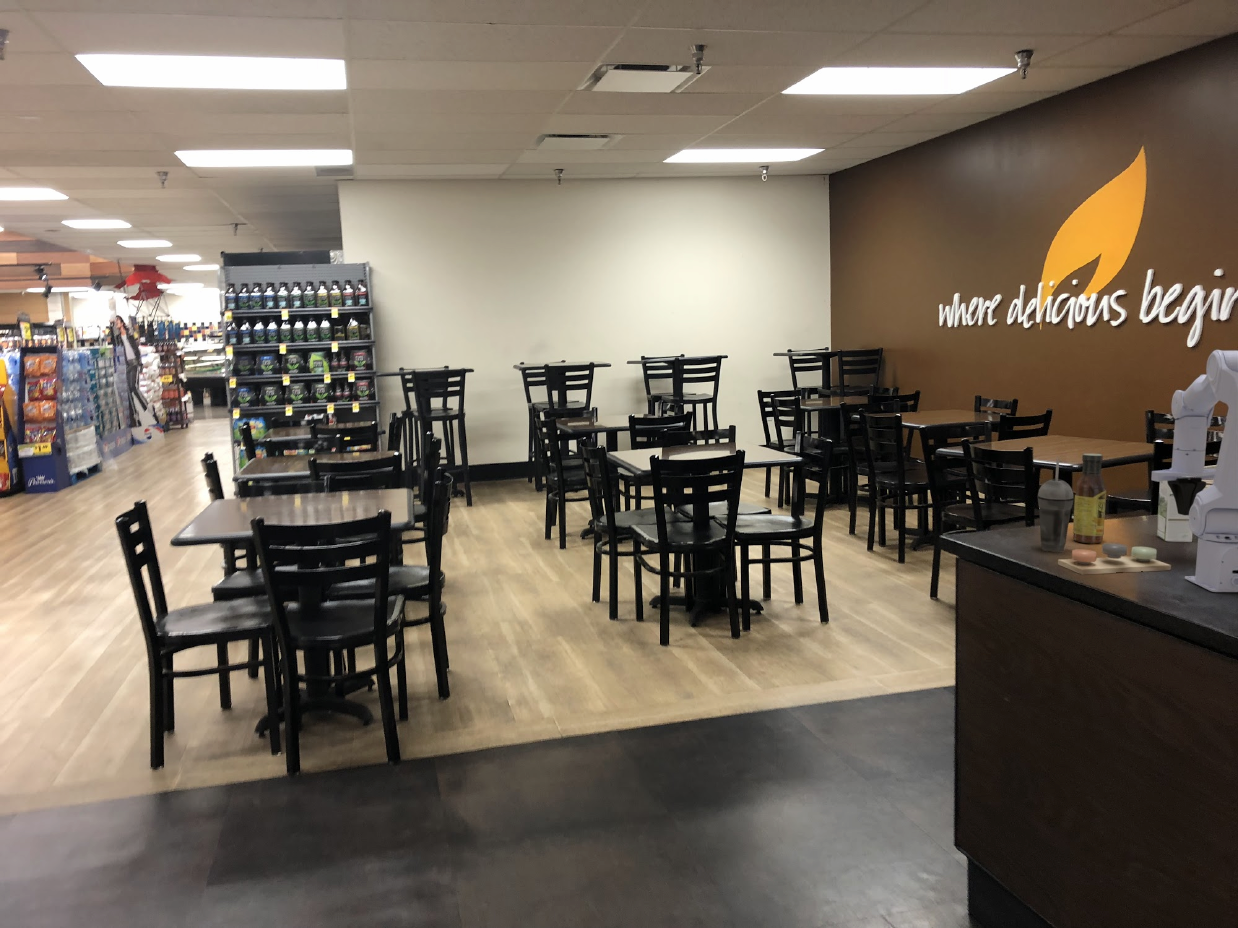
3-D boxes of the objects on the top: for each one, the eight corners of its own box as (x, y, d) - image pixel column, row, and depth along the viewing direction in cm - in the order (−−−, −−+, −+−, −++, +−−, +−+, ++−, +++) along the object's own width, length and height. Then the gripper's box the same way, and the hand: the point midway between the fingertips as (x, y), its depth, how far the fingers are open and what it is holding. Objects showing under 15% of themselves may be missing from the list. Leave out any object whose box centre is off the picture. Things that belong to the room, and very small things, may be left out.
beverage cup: (1033, 551, 202) (1037, 460, 199) (1035, 544, 209) (1040, 456, 206) (1070, 555, 199) (1075, 462, 196) (1071, 547, 205) (1077, 457, 202)
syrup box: (1192, 542, 209) (1197, 478, 207) (1164, 541, 210) (1168, 477, 208) (1183, 536, 214) (1187, 474, 212) (1154, 535, 215) (1159, 473, 213)
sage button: (1146, 557, 192) (1146, 546, 191) (1160, 562, 187) (1161, 551, 187) (1126, 558, 191) (1126, 546, 191) (1140, 563, 187) (1141, 552, 186)
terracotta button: (1087, 560, 190) (1087, 548, 190) (1100, 565, 186) (1101, 553, 185) (1067, 561, 190) (1067, 549, 189) (1080, 566, 185) (1081, 554, 185)
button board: (1143, 560, 194) (1143, 555, 194) (1170, 570, 186) (1170, 565, 186) (1057, 564, 191) (1058, 559, 191) (1081, 574, 183) (1082, 569, 183)
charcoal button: (1117, 553, 191) (1117, 542, 190) (1131, 559, 186) (1132, 547, 186) (1097, 554, 190) (1097, 543, 190) (1110, 560, 186) (1111, 548, 185)
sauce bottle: (1102, 545, 207) (1108, 457, 204) (1071, 542, 210) (1076, 455, 207) (1103, 539, 212) (1109, 453, 209) (1073, 537, 215) (1078, 451, 212)
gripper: (1206, 445, 196) (1201, 509, 198) (1143, 448, 194) (1138, 511, 196) (1232, 450, 189) (1227, 515, 191) (1167, 452, 187) (1162, 518, 189)
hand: (1184, 514), depth 193 cm, fingers closed
